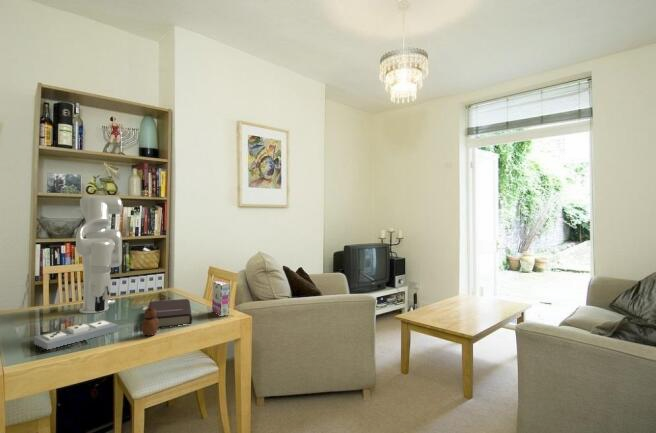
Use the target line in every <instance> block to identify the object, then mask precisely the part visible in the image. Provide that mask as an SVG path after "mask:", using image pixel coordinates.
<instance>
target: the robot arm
mask: <svg viewBox="0 0 656 433" xmlns="http://www.w3.org/2000/svg"><path fill="white" fill-rule="evenodd" d="M79 206H80V211H81V213H82V215H83V217H84V220H85V223H84V224H82V225H81V226H80V227H79V229H78V230H77V232H76V235H75V251H76V253H77V254H78V255H79V256H81V257H82V258H81V260H82V261H81V262H82V267H83V301H82V302H83V306H82V307H81V308H80V309H79V313H80V314H97V313H102V312H106V311H108V310H109V308H110V306H109V305H112V304H116V299H111V300H110V299H109V297H108V296H111V295H110V294H111V290H112V287H111V286H112V283H111V282H112V281H111V280H112V279H111V272H112V269H111V268H116V267H117V268H118V267H120V266H121V265H122V261H123V238H122V236H123V235H122V232H121V231H120V230H119V229H114V228H110V229H109V228H108V229H107V227H108V226H109V225H110V215H120V214H121V213H122V212H123V208H124V207H123V206H124V204H123V202H122V199H121V198H120V197H118V196H110V195H109V196H106V195H85V196H82V197H81V198H80V200H79Z"/></svg>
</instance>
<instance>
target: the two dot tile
mask: <svg viewBox="0 0 656 433" xmlns="http://www.w3.org/2000/svg"><path fill="white" fill-rule="evenodd" d="M86 324H87V323H78V324H75V325H71V326H70V325H69V326H67V328H68V330H67V332H69V333H71V334H76V333H80V332H84V331H88V330H89V326H88V325H86Z"/></svg>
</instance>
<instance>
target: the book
mask: <svg viewBox="0 0 656 433" xmlns="http://www.w3.org/2000/svg"><path fill="white" fill-rule="evenodd" d="M150 302H151V303H152V308H154V309H156V311H157V315H156V316H155V317H156V318H158V321H159V326H158V328H160V329H163V328H162V327H169V328H171V327H170V326H178V325H183V324H191V325H192V324H193V316H192V307H191V301H190V300H189V299H188V298H181V299H169V300H156V301H150ZM150 302H149V304H148V307H147V309H150Z"/></svg>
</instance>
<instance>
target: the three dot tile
mask: <svg viewBox="0 0 656 433" xmlns="http://www.w3.org/2000/svg"><path fill="white" fill-rule="evenodd" d="M58 331H59V330H58ZM54 332H55V331H54ZM50 333H51V332H50ZM46 334H47V333H46ZM42 335H43V334H42ZM66 335H67V334H65V333H63V332H61V331H59V332H55V333H51V334H47V335H43V338H44V339H46V340H48V341H49V340H53V339H57V338H61V337H64V336H66Z"/></svg>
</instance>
